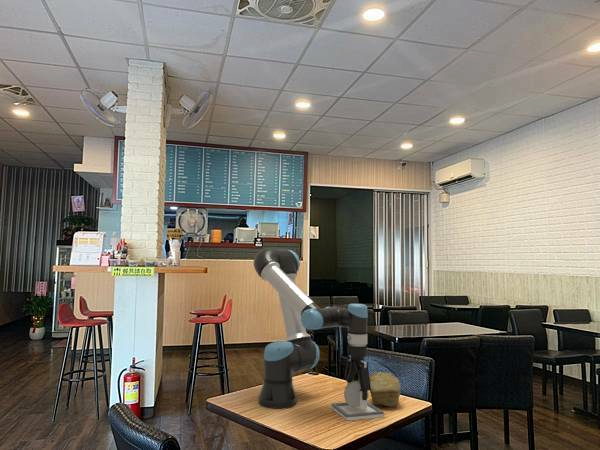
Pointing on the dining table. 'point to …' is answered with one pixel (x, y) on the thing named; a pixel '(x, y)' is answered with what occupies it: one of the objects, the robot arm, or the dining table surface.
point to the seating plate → (357, 411)
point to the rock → (384, 389)
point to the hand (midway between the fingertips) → (356, 404)
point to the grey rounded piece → (353, 394)
